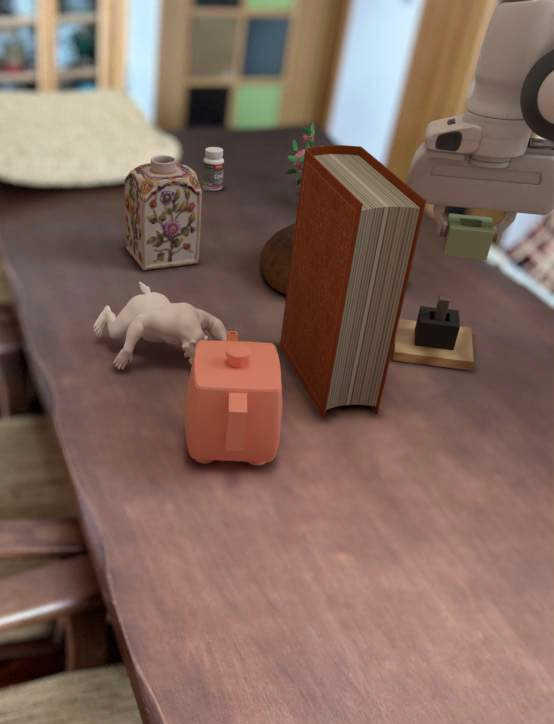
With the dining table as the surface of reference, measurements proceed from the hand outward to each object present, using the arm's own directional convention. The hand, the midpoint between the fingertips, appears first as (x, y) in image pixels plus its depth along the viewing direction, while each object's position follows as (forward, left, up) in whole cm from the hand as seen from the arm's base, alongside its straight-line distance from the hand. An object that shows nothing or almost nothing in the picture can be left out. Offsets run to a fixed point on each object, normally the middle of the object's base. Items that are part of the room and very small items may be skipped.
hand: (466, 238), depth 118 cm
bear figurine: (+42, +9, -19) cm, 47 cm away
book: (+16, +11, -19) cm, 28 cm away
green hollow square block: (0, 0, -2) cm, 2 cm away
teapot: (+27, +32, -19) cm, 46 cm away
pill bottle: (+49, -69, -19) cm, 87 cm away
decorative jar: (+51, -27, -19) cm, 61 cm away
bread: (+18, -27, -19) cm, 38 cm away
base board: (0, -3, -19) cm, 19 cm away
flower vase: (+25, -66, -19) cm, 73 cm away
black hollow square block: (0, -3, -18) cm, 18 cm away
